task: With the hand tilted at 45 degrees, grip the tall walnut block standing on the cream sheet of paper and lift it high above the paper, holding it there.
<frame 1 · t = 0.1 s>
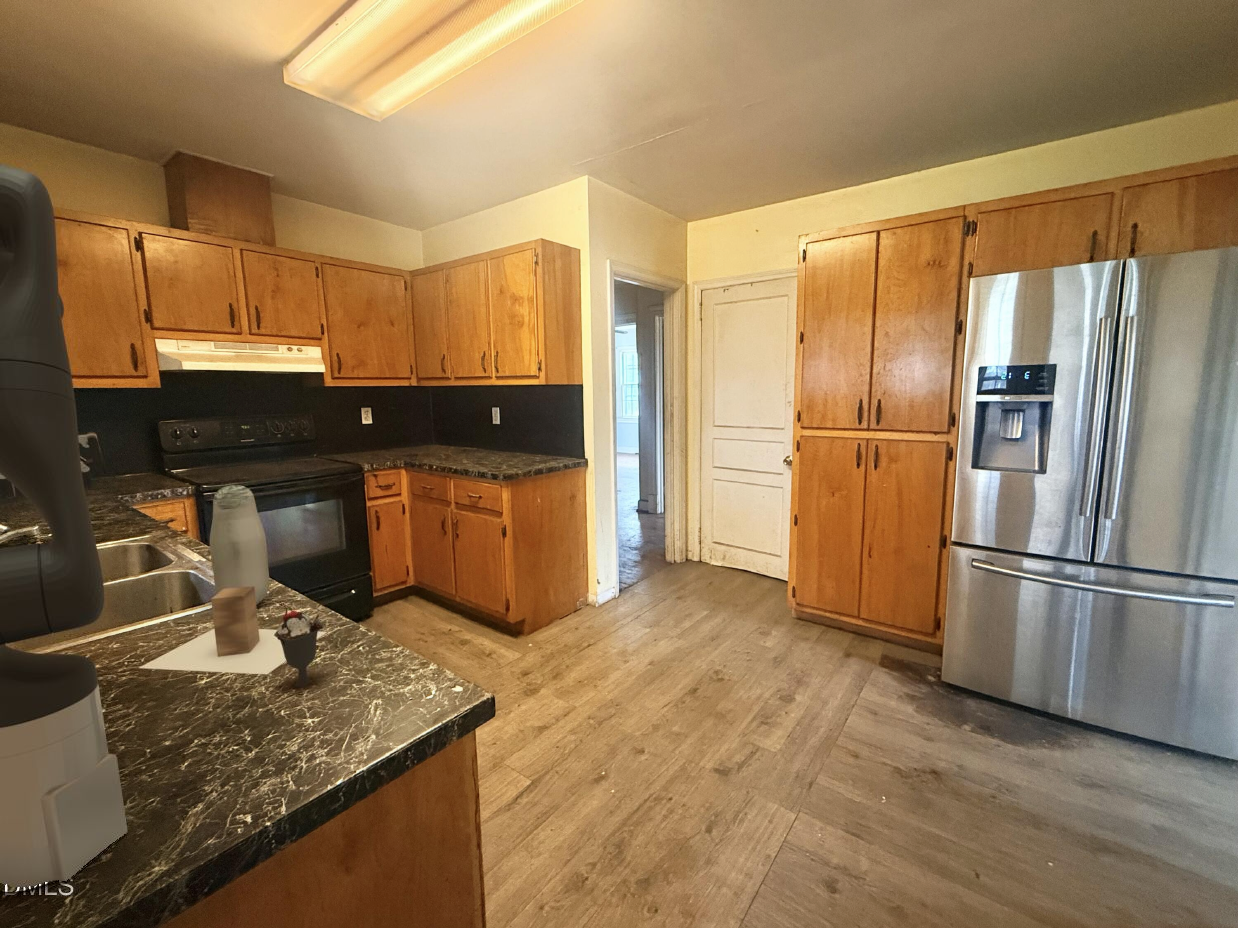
hand: (49, 491, 91), 31 cm above the countertop, tool tilted 20°, fingers open, 8 cm apart
glass bottle: (245, 607, 120), on the countertop
walnut block: (239, 648, 98), point 1 cm above the countertop, touching cream sheet of paper
cream sheet of paper: (239, 652, 98), on the countertop
sundae: (303, 688, 87), on the countertop
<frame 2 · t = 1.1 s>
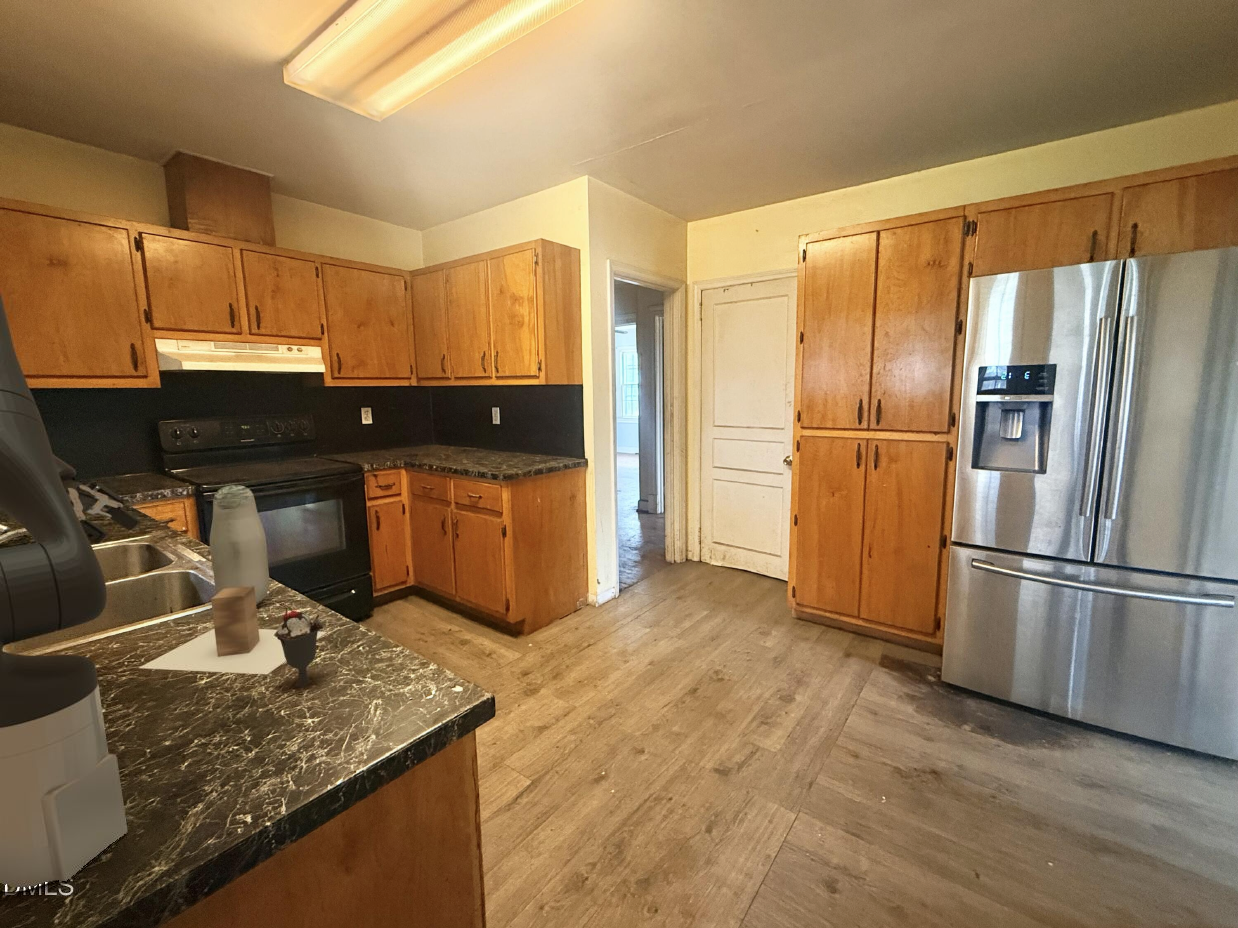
hand: (120, 532, 89), 25 cm above the countertop, tool tilted 45°, fingers open, 8 cm apart
nothing on the countertop moved.
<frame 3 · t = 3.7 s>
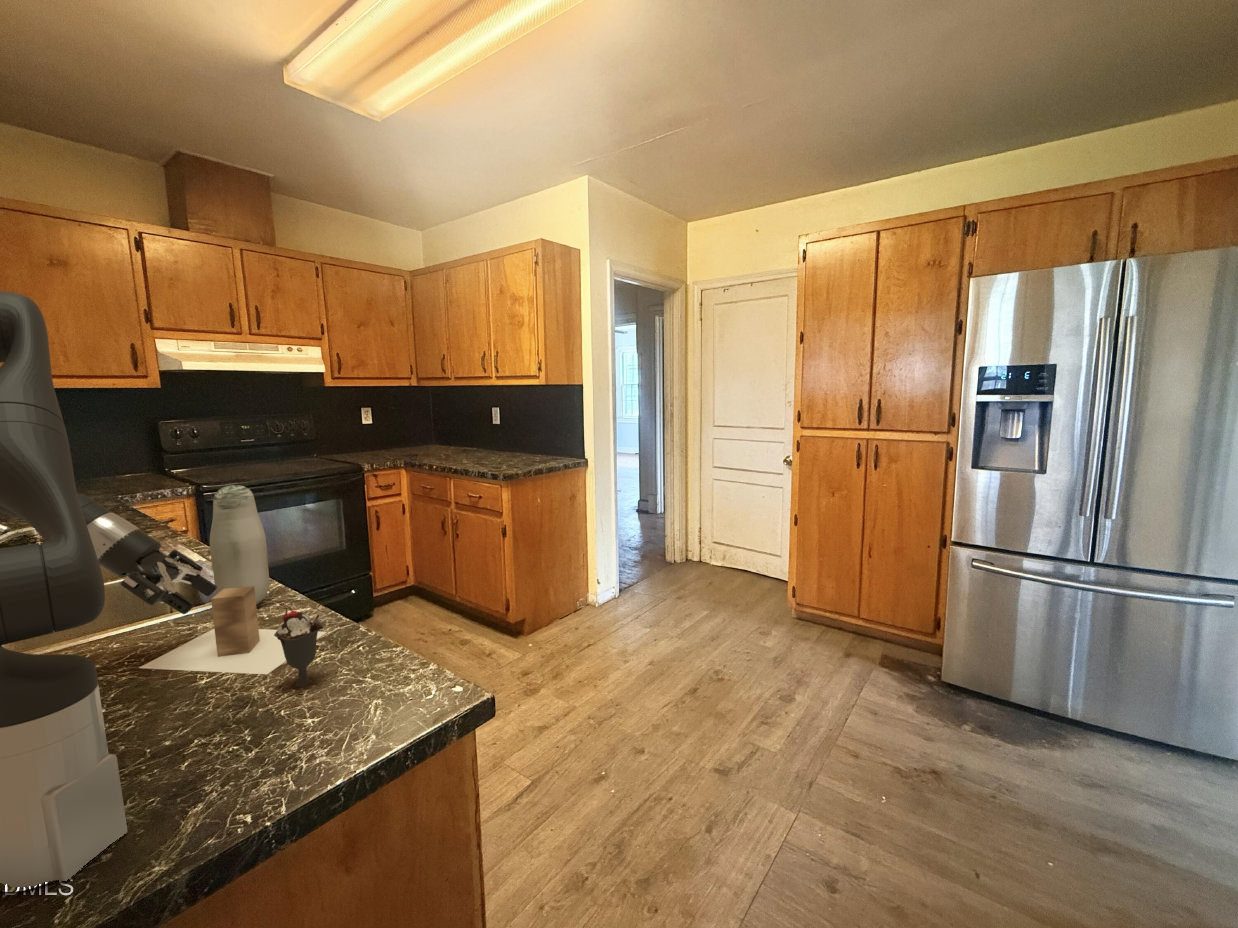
hand: (202, 600, 96), 11 cm above the countertop, tool tilted 45°, fingers open, 8 cm apart
nothing on the countertop moved.
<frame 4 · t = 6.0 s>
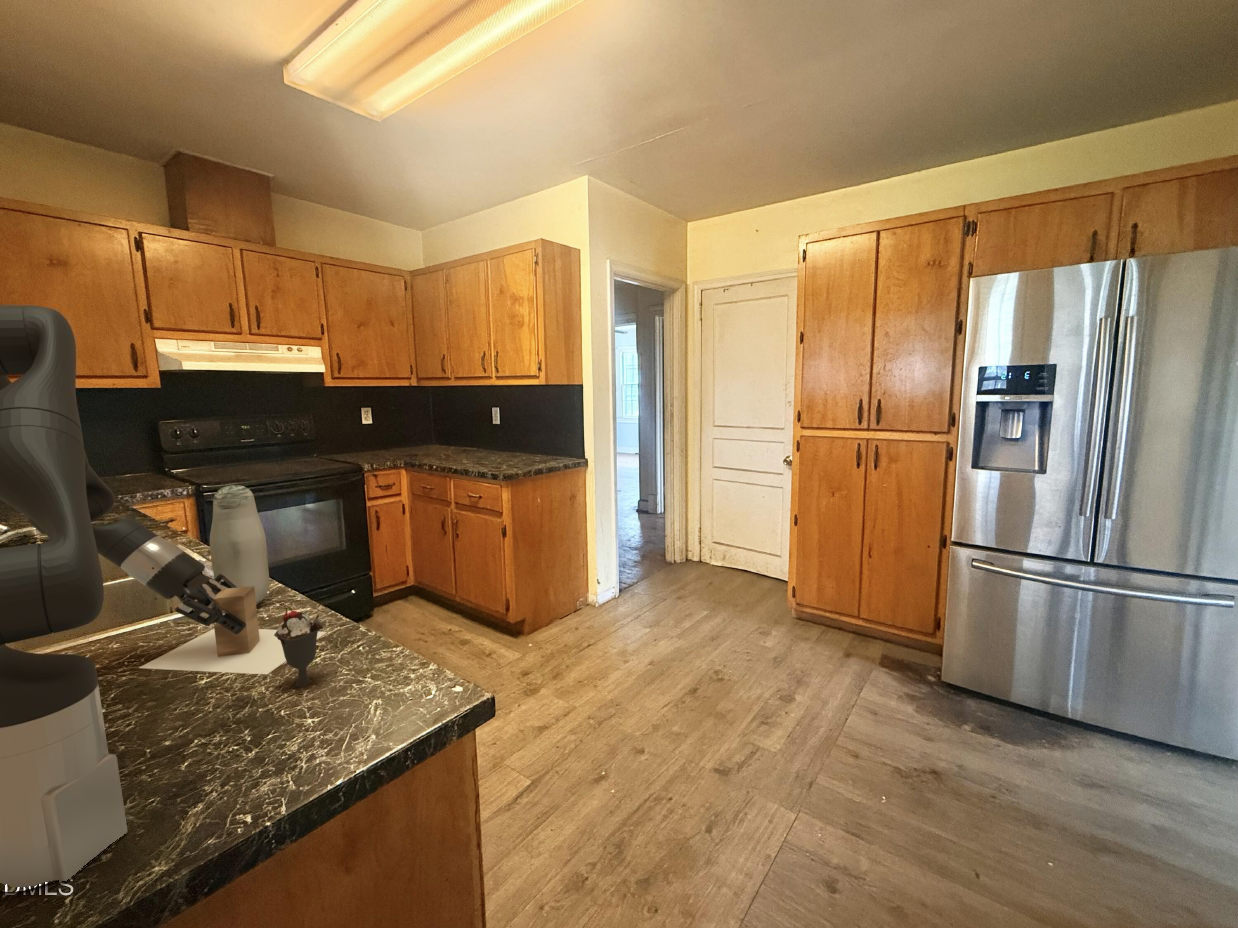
hand: (248, 623, 98), 6 cm above the countertop, tool tilted 45°, fingers closed on walnut block, 5 cm apart
walnut block: (239, 648, 98), point 1 cm above the countertop, touching cream sheet of paper, gripper
everything else where it was.
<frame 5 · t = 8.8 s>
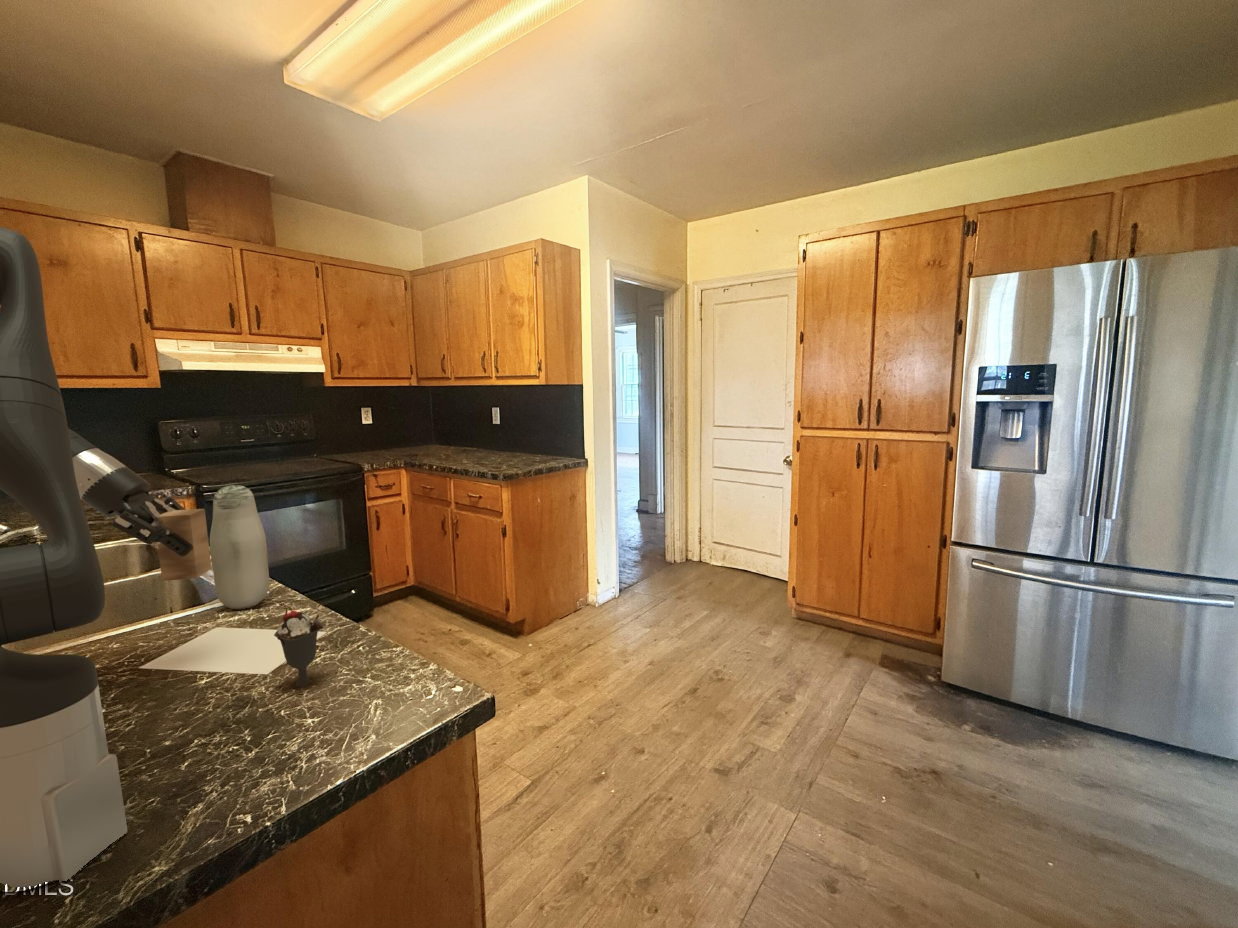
hand: (196, 547, 91), 22 cm above the countertop, tool tilted 45°, fingers closed on walnut block, 5 cm apart
walnut block: (187, 574, 91), point 17 cm above the countertop, touching gripper
everything else where it was.
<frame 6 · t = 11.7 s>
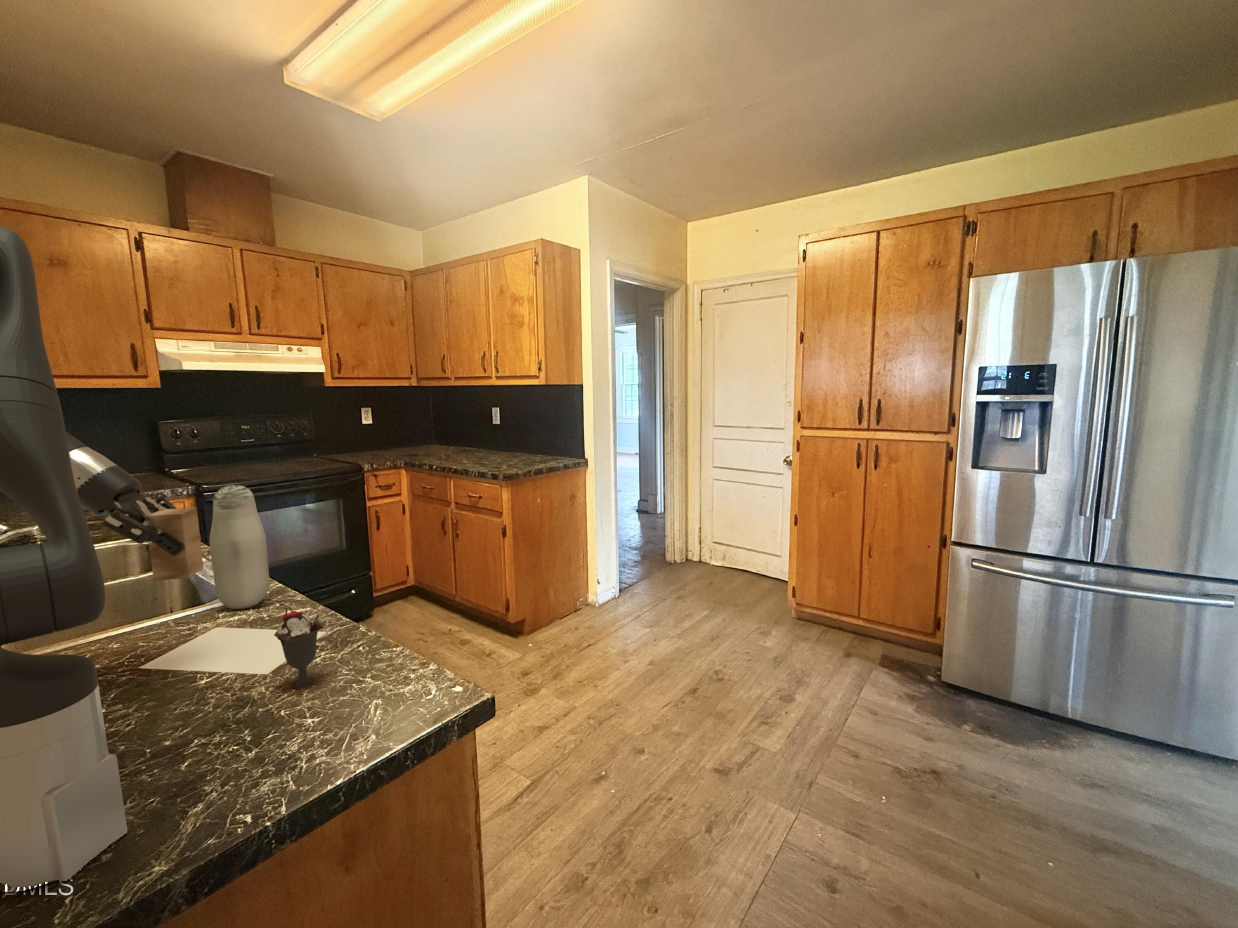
hand: (189, 546, 90), 22 cm above the countertop, tool tilted 45°, fingers closed on walnut block, 5 cm apart
walnut block: (179, 574, 91), point 17 cm above the countertop, touching gripper
everything else where it was.
at the end: the gripper is holding walnut block; walnut block point 17.3 cm above the countertop; walnut block tilted 0° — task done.
